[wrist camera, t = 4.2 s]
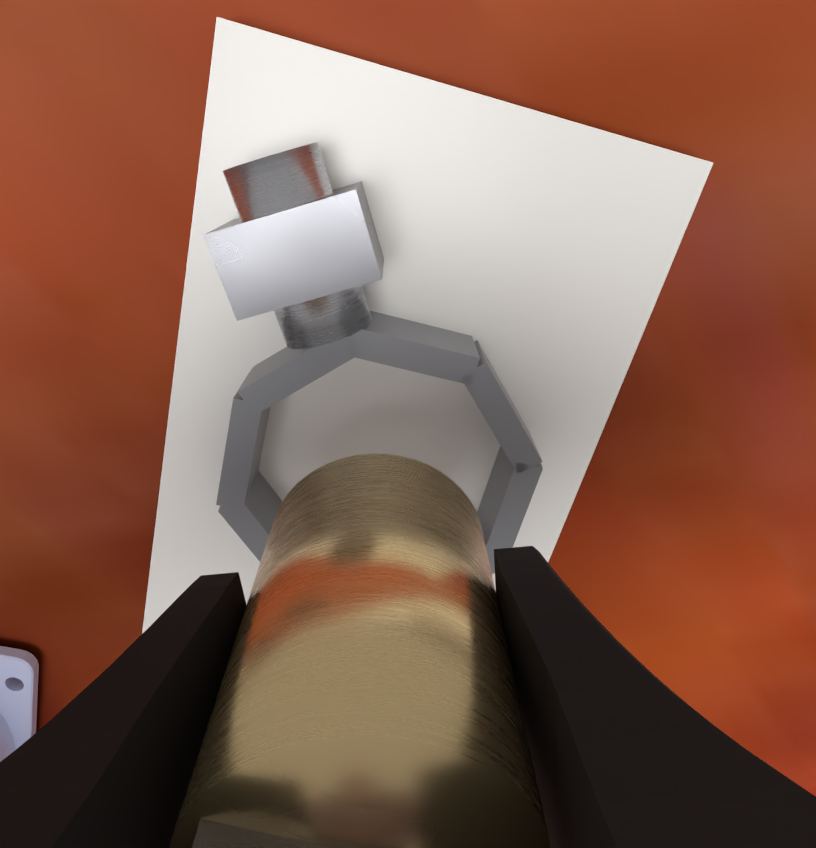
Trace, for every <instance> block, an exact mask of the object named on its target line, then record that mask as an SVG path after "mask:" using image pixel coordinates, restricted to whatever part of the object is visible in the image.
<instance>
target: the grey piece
mask: <svg viewBox="0 0 816 848" xmlns="http://www.w3.org/2000/svg"><path fill="white" fill-rule="evenodd" d="M223 174H224V176H225V179H226V182H227V184H228V187H229V190H230V193H231V195H232V198H233V201H234V204H235V206H236V209H237V212H238V214H239V217H240V218H237V219H234V220H231V221H229V222H227V223H225V224H223V225H221V226H219V227H218V228H216V229H214V230H212V231H210V232H208V233H206V234H204V235H203V236H204V239H205V241H206V244H207V246H208V249H209V251H210V254H211V256H212V259H213V261H214V264H215V267H216V269H217V272H218V274H219V277H220V279H221V282H222V284H223V287H224V289H225V292H226V294H227V297H228V300H229V302H230V305H231V307H232V310H233V312H234V315H235V317H236V320H237V321H238V320H242V319H245V318H249V317H252V316H256V315H259V314H263V313H267V312H270V311H274V312H275V315H276V318H277V321H278V323H279V326H280V329H281V331H282V334H283V337H284V340H285V342H286V345H287V347H288V348H290V349H306V348H312V347H317V346H321V345H325V344H329V343H332V342H335V341H338V340H340V339H343V338H346V337H348V336H350V335H352V334H354V333H356V332H358V331H360V330H362V329H363V328H365V327H366V326H368V325H369V324H370V323H371V321H372V317H371V314H370V311H369V308H368V304H367V301H366V298H365V295H364V291H363V288H362V285H365V284H369V283H372V282H376V281H379V280H382V277H383V266H384V257H383V253H382V250H381V246H380V243H379V239H378V236H377V232H376V229H375V225H374V222H373V218H372V215H371V211H370V208H369V204H368V201H367V198H366V194H365V191H364V187H363V184H362V181H361V182H358V183H354V184H351V185H348V186H344V187H341V188H338V189H334V190H332V187H331V184H330V181H329V177H328V174H327V171H326V167H325V164H324V161H323V158H322V154H321V151H320V148H319V145H318V142H316V143H312V144H308V145H305V146H301V147H297V148H294V149H291V150H287V151H284V152H280V153H277V154H274V155H270V156H267V157H264V158H260V159H257V160H254V161H251V162H248V163H244V164H241V165H238V166H235V167H232V168H229V169H226V170H224V171H223Z"/></svg>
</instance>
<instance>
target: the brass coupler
mask: <svg viewBox="0 0 816 848" xmlns="http://www.w3.org/2000/svg"><path fill="white" fill-rule="evenodd" d="M169 848H551V845H550V840H549V835H548V831H547V826H546V822H545V817H544V812H543V808H542V803H541V799H540V794H539V789H538V785H537V780H536V775H535V771H534V766H533V762H532V757H531V752H530V748H529V743H528V739H527V734H526V729H525V725H524V720H523V716H522V711H521V706H520V702H519V697H518V693H517V688H516V683H515V679H514V674H513V670H512V665H511V660H510V656H509V651H508V647H507V642H506V637H505V633H504V628H503V624H502V619H501V614H500V610H499V605H498V601H497V596H496V591H495V587H494V582H493V578H492V573H491V568H490V564H489V559H488V554H487V550H486V545H485V541H484V536H483V531H482V527H481V522H480V519H479V517H478V514H477V512H476V509H475V508H474V506H473V504H472V502H471V501H470V499H469V498H468V497H467V495H466V494H465V493H464V491H463V490H462V489H461V488H460V487H459V486H458V485H457V484H456V483H455V482H454V481H453V480H452V479H450V478H449V477H447V476H446V475H445V474H443V473H442V472H440V471H439V470H437V469H435V468H433V467H431V466H430V465H427V464H425V463H422V462H420V461H417V460H415V459H411V458H407V457H403V456H398V455H391V454H361V455H354V456H350V457H345V458H341V459H338V460H335V461H333V462H330V463H327V464H325V465H323V466H321V467H319V468H317V469H316V470H314V471H313V472H311V473H310V474H308V475H307V476H305V477H304V478H303V479H302V480H300V481H299V482H298V483H297V484H296V485H295V486H294V487H293V488H292V489H291V491H290V492H289V493H288V494H287V495H286V497H285V498H284V500H283V502H282V503H281V505H280V506H279V509H278V511H277V513H276V516H275V518H274V521H273V524H272V527H271V531H270V534H269V537H268V540H267V543H266V546H265V549H264V552H263V555H262V559H261V562H260V565H259V568H258V571H257V574H256V577H255V580H254V583H253V587H252V590H251V593H250V596H249V599H248V602H247V605H246V608H245V611H244V615H243V618H242V621H241V624H240V627H239V630H238V633H237V636H236V639H235V643H234V646H233V649H232V652H231V655H230V658H229V661H228V664H227V667H226V671H225V674H224V677H223V680H222V683H221V686H220V689H219V692H218V695H217V699H216V702H215V705H214V708H213V711H212V714H211V717H210V720H209V723H208V726H207V730H206V733H205V736H204V739H203V742H202V745H201V748H200V751H199V754H198V758H197V761H196V764H195V767H194V770H193V773H192V776H191V779H190V782H189V786H188V789H187V792H186V795H185V798H184V801H183V804H182V807H181V810H180V814H179V817H178V820H177V823H176V826H175V829H174V832H173V835H172V838H171V842H170V846H169Z"/></svg>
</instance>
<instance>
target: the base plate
mask: <svg viewBox="0 0 816 848" xmlns="http://www.w3.org/2000/svg"><path fill="white" fill-rule="evenodd" d="M316 142H318V145H319V148H320V151H321V154H322V158H323V161H324V164H325V167H326V171H327V174H328V177H329V181H330V184H331V187H332V190H334V189H338V188H341V187H344V186H348V185H351V184H354V183H358V182H361V181H362V184H363V187H364V191H365V194H366V198H367V201H368V204H369V208H370V211H371V215H372V218H373V222H374V225H375V229H376V232H377V236H378V239H379V243H380V246H381V250H382V253H383V257H384V266H383V277H382V280H379V281H376V282H372V283H369V284H365V285H362V288H363V291H364V295H365V298H366V301H367V304H368V308H369V311H370V314H371V317H372V321H371V323H370V324H369V325H368V326H366V327H365V328H363V329H362V330H360V331H358V332H356V333H354V334H352V335H350V336H348V337H346V338H343V339H340V340H338V341H335V342H332V343H329V344H325V345H321V346H317V347H312V348H306V349H290V348H288V347H287V345H286V342H285V340H284V337H283V334H282V331H281V329H280V326H279V323H278V321H277V318H276V315H275V312H274V311H270V312H267V313H263V314H259V315H256V316H252V317H249V318H245V319H242V320H238V321H237V320H236V317H235V315H234V312H233V310H232V307H231V305H230V302H229V300H228V297H227V294H226V292H225V289H224V287H223V284H222V282H221V279H220V277H219V274H218V272H217V269H216V267H215V264H214V261H213V259H212V256H211V254H210V251H209V249H208V246H207V244H206V241H205V239H204V236H203V235H204V234H206V233H208V232H210V231H212V230H214V229H216V228H218V227H219V226H221V225H223V224H225V223H227V222H229V221H231V220H234V219H237V218H240V217H239V214H238V212H237V209H236V206H235V204H234V201H233V198H232V195H231V193H230V190H229V187H228V184H227V182H226V179H225V176H224V174H223V171H224V170H226V169H229V168H232V167H235V166H238V165H241V164H244V163H248V162H251V161H254V160H257V159H260V158H264V157H267V156H270V155H274V154H277V153H280V152H284V151H287V150H291V149H294V148H297V147H301V146H305V145H308V144H312V143H316ZM712 165H713V163H712V162H709V161H706V160H702V159H699V158H695V157H692V156H689V155H685V154H682V153H678V152H675V151H672V150H668V149H665V148H661V147H658V146H655V145H651V144H648V143H644V142H641V141H638V140H634V139H631V138H627V137H624V136H621V135H617V134H614V133H610V132H607V131H604V130H600V129H597V128H593V127H590V126H587V125H583V124H580V123H576V122H573V121H570V120H566V119H563V118H559V117H556V116H553V115H549V114H546V113H542V112H539V111H536V110H532V109H529V108H525V107H522V106H518V105H515V104H512V103H508V102H505V101H501V100H498V99H495V98H491V97H488V96H484V95H481V94H478V93H474V92H471V91H467V90H464V89H461V88H457V87H454V86H450V85H447V84H444V83H440V82H437V81H433V80H430V79H427V78H423V77H420V76H416V75H413V74H410V73H406V72H403V71H399V70H396V69H393V68H389V67H386V66H382V65H379V64H376V63H372V62H369V61H365V60H362V59H359V58H355V57H352V56H348V55H345V54H342V53H338V52H335V51H331V50H328V49H325V48H321V47H318V46H314V45H311V44H308V43H304V42H301V41H297V40H294V39H291V38H287V37H284V36H280V35H277V34H274V33H270V32H267V31H263V30H260V29H257V28H253V27H250V26H246V25H243V24H240V23H236V22H233V21H229V20H226V19H223V18H219V17H217V20H216V28H215V36H214V44H213V53H212V61H211V69H210V77H209V86H208V94H207V102H206V110H205V119H204V127H203V135H202V143H201V152H200V160H199V168H198V176H197V185H196V193H195V201H194V209H193V218H192V226H191V234H190V242H189V251H188V259H187V267H186V275H185V284H184V292H183V300H182V308H181V317H180V325H179V333H178V341H177V350H176V358H175V366H174V375H173V383H172V391H171V399H170V408H169V416H168V424H167V432H166V441H165V449H164V457H163V465H162V474H161V482H160V490H159V498H158V507H157V515H156V523H155V531H154V540H153V548H152V556H151V564H150V573H149V581H148V589H147V597H146V606H145V614H144V622H143V630H142V634H143V633H144V632H145V631H146V630H147V629H148V628H149V627H150V626H151V625H152V624H153V623H154V622H155V621H156V620H157V619H158V618H159V617H160V616H161V615H162V614H163V613H164V612H165V611H166V609H167V608H168V607H169V606H170V605H171V604H172V603H173V602H174V601H175V600H176V599H177V598H178V597H179V596H180V595H181V594H182V593H183V592H184V591H185V590H186V589H187V588H188V587H189V586H190V585H191V584H192V583H193V582H194V581H196V580H197V579H198V578H199V577H200V576H201V575H212V574H223V573H234V572H239V576H240V580H241V585H242V589H243V593H244V597H245V601H246V605H247V602H248V599H249V596H250V593H251V590H252V587H253V583H254V580H255V577H256V574H257V571H258V568H259V565H260V562H261V559H262V555H263V552H264V549H265V546H266V543H267V540H268V537H269V534H270V531H271V527H272V524H273V521H274V518H275V516H276V513H277V511H278V509H279V506H280V505H281V503H282V502H283V500H284V498H285V497H286V495H287V494H288V493H289V492H290V491H291V489H292V488H293V487H294V486H295V485H296V484H297V483H298V482H299V481H300V480H302V479H303V478H304V477H305V476H307V475H308V474H310V473H311V472H313V471H314V470H316V469H317V468H319V467H321V466H323V465H325V464H327V463H330V462H333V461H335V460H338V459H341V458H345V457H350V456H354V455H361V454H391V455H398V456H403V457H407V458H411V459H415V460H417V461H420V462H422V463H425V464H427V465H430V466H431V467H433V468H435V469H437V470H439V471H440V472H442V473H443V474H445V475H446V476H447V477H449V478H450V479H452V480H453V481H454V482H455V483H456V484H457V485H458V486H459V487H460V488H461V489H462V490H463V491H464V493H465V494H466V495H467V497H468V498H469V499H470V501H471V502H472V504H473V506H474V508H475V509H476V512H477V514H478V517H479V519H480V522H481V527H482V531H483V536H484V541H485V545H486V550H487V554H488V559H489V564H490V568H491V573H492V578H493V582H494V587H495V591H496V585H495V566H494V549H502V548H513V547H524V546H533V547H535V548H536V549H537V550H538V551H539V552H540V553H541V554H542V556H543V557H544V558H545V560H546V561H547V562H549V559H550V557H551V554H552V552H553V550H554V547H555V545H556V542H557V540H558V538H559V535H560V533H561V530H562V528H563V525H564V523H565V521H566V518H567V516H568V513H569V511H570V509H571V506H572V504H573V501H574V499H575V496H576V494H577V492H578V489H579V487H580V484H581V482H582V480H583V477H584V475H585V472H586V470H587V467H588V465H589V463H590V460H591V458H592V455H593V453H594V451H595V448H596V446H597V443H598V441H599V438H600V436H601V434H602V431H603V429H604V426H605V424H606V421H607V419H608V417H609V414H610V412H611V409H612V407H613V405H614V402H615V400H616V397H617V395H618V392H619V390H620V388H621V385H622V383H623V380H624V378H625V376H626V373H627V371H628V368H629V366H630V363H631V361H632V359H633V356H634V354H635V351H636V349H637V347H638V344H639V342H640V339H641V337H642V334H643V332H644V330H645V327H646V325H647V322H648V320H649V318H650V315H651V313H652V310H653V308H654V305H655V303H656V301H657V298H658V296H659V293H660V291H661V289H662V286H663V284H664V281H665V279H666V276H667V274H668V272H669V269H670V267H671V264H672V262H673V259H674V257H675V255H676V252H677V250H678V247H679V245H680V243H681V240H682V238H683V235H684V233H685V230H686V228H687V226H688V223H689V221H690V218H691V216H692V214H693V211H694V209H695V206H696V204H697V201H698V199H699V197H700V194H701V192H702V189H703V187H704V185H705V182H706V180H707V177H708V175H709V172H710V170H711V168H712Z"/></svg>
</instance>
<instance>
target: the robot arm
mask: <svg viewBox="0 0 816 848" xmlns="http://www.w3.org/2000/svg"><path fill="white" fill-rule="evenodd" d="M494 566H495V585H496V596H497V601H498V605H499V610H500V614H501V619H502V624H503V628H504V633H505V637H506V642H507V647H508V651H509V656H510V660H511V665H512V670H513V674H514V679H515V683H516V688H517V693H518V697H519V702H520V706H521V711H522V716H523V720H524V725H525V729H526V734H527V739H528V743H529V748H530V752H531V757H532V762H533V766H534V771H535V775H536V780H537V785H538V789H539V794H540V799H541V803H542V808H543V812H544V817H545V822H546V826H547V831H548V835H549V840H550V845H551V848H816V797H815V796H814V795H812V794H811V793H809V792H808V791H806V790H805V789H803V788H802V787H800V786H799V785H798V784H796V783H795V782H793V781H792V780H790V779H789V778H787V777H786V776H784V775H783V774H781V773H780V772H778V771H777V770H775V769H774V768H773V767H771V766H770V765H768V764H767V763H765V762H764V761H762V760H761V759H759V758H758V757H756V756H755V755H753V754H752V753H750V752H749V751H747V750H746V749H745V748H743V747H742V746H741V745H739V744H738V743H737V742H735V741H734V740H733V739H731V738H730V737H729V736H727V735H726V734H725V733H723V732H722V731H721V730H719V729H718V728H717V727H715V726H714V725H713V724H712V723H710V722H709V721H708V720H707V719H705V718H704V717H703V716H702V715H700V714H699V713H698V712H697V711H695V710H694V709H693V708H692V707H690V706H689V705H688V704H687V703H685V702H684V701H683V700H682V699H681V698H680V697H678V696H677V695H676V694H675V693H674V692H672V691H671V690H670V689H669V688H668V687H667V686H666V685H664V684H663V683H662V682H661V681H660V680H659V679H658V678H657V677H655V676H654V675H653V674H652V673H651V672H650V671H649V670H648V669H647V668H646V667H645V666H644V665H642V664H641V663H640V662H639V661H638V660H637V659H636V658H635V657H634V656H633V655H632V654H631V653H630V652H629V651H628V650H627V649H626V648H625V647H624V646H622V645H621V644H620V643H619V642H618V641H617V640H616V639H615V638H614V637H613V636H612V634H611V633H610V632H609V631H608V630H607V629H606V628H605V627H604V626H603V625H602V624H601V623H600V622H599V621H598V620H597V619H596V618H595V617H594V616H593V615H592V614H591V613H590V611H589V610H588V609H587V608H586V607H585V606H584V605H583V604H582V603H581V602H580V601H579V599H578V598H577V597H576V596H575V595H574V594H573V592H572V591H571V590H570V589H569V588H568V587H567V586H566V584H565V583H564V582H563V581H562V580H561V578H560V577H559V576H558V575H557V574H556V572H555V571H554V570H553V569H552V567H551V566H550V565H549V564H548V562H547V561H546V560H545V558H544V557H543V556H542V554H541V553H540V552H539V551H538V550H537V549H536V548H535V547H533V546H524V547H513V548H502V549H494ZM245 608H246V601H245V597H244V593H243V589H242V585H241V580H240V576H239V572H234V573H223V574H212V575H201V576H200V577H199V578H198V579H197V580H196V581H194V582H193V583H192V584H191V585H190V586H189V587H188V588H187V589H186V590H185V591H184V592H183V593H182V594H181V595H180V596H179V597H178V598H177V599H176V600H175V601H174V602H173V603H172V604H171V605H170V606H169V607H168V608H167V609H166V611H165V612H164V613H163V614H162V615H161V616H160V617H159V618H158V619H157V620H156V621H155V622H154V623H153V624H152V625H151V626H150V627H149V628H148V629H147V630H146V631H145V632H144V633H143V634H142V635H141V636H140V637H139V638H138V639H137V640H136V641H135V642H134V643H133V644H132V645H131V646H130V647H129V648H128V649H127V650H126V651H125V652H124V653H123V654H122V655H121V656H120V657H119V658H118V659H117V660H116V661H115V662H114V663H113V664H112V665H111V666H109V667H108V668H107V669H106V670H105V671H104V672H103V673H102V674H101V675H100V676H99V677H98V678H96V679H95V680H94V681H93V682H92V683H91V684H90V685H89V686H88V687H87V688H86V689H84V690H83V691H82V692H81V693H80V694H79V695H78V696H77V697H76V698H75V699H74V700H72V701H71V702H70V703H69V704H68V705H67V706H66V707H65V708H64V709H63V710H62V711H60V712H59V713H58V714H57V715H56V716H55V717H54V718H53V719H52V720H51V721H49V722H48V723H47V724H46V725H45V726H44V727H42V728H41V729H40V730H39V731H38V732H37V733H36V721H37V697H38V673H39V664H38V660H37V659H36V658H35V656H34V655H33V654H31V653H30V652H28V651H25V650H21V649H16V648H10V647H4V646H0V848H169V846H170V842H171V838H172V835H173V832H174V829H175V826H176V823H177V820H178V817H179V814H180V810H181V807H182V804H183V801H184V798H185V795H186V792H187V789H188V786H189V782H190V779H191V776H192V773H193V770H194V767H195V764H196V761H197V758H198V754H199V751H200V748H201V745H202V742H203V739H204V736H205V733H206V730H207V726H208V723H209V720H210V717H211V714H212V711H213V708H214V705H215V702H216V699H217V695H218V692H219V689H220V686H221V683H222V680H223V677H224V674H225V671H226V667H227V664H228V661H229V658H230V655H231V652H232V649H233V646H234V643H235V639H236V636H237V633H238V630H239V627H240V624H241V621H242V618H243V615H244V611H245ZM16 678H17V679H16ZM18 679H20V680H18Z"/></svg>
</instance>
